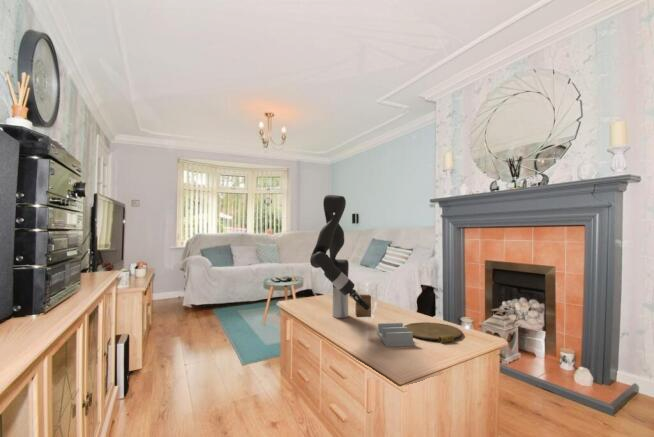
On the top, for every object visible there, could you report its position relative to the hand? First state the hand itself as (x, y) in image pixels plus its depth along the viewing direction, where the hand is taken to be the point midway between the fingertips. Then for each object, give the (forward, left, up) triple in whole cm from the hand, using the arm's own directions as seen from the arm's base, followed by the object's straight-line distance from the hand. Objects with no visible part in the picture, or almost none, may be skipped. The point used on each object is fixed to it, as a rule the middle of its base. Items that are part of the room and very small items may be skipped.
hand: (367, 307), depth 154 cm
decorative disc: (0, +33, -14) cm, 36 cm away
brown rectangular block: (0, -2, -4) cm, 5 cm away
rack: (+8, +11, -13) cm, 19 cm away
